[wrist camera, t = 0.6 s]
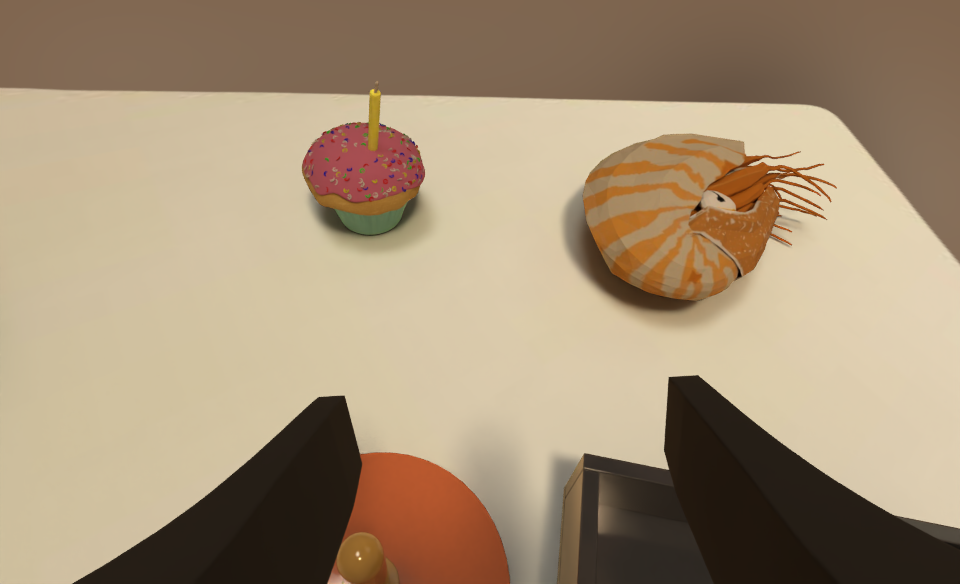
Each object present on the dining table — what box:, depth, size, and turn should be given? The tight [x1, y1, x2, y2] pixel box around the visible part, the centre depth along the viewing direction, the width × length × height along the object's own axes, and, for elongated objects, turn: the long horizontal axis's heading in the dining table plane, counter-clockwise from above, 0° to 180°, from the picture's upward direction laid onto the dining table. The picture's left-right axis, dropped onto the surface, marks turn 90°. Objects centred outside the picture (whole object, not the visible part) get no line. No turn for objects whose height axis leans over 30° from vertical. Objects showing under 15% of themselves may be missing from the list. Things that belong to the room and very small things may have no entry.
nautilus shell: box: [583, 134, 837, 301], centre depth 39 cm, size 8×22×15 cm
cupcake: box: [302, 81, 425, 235], centre depth 37 cm, size 9×8×12 cm
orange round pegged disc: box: [328, 453, 510, 584], centre depth 22 cm, size 13×13×7 cm
